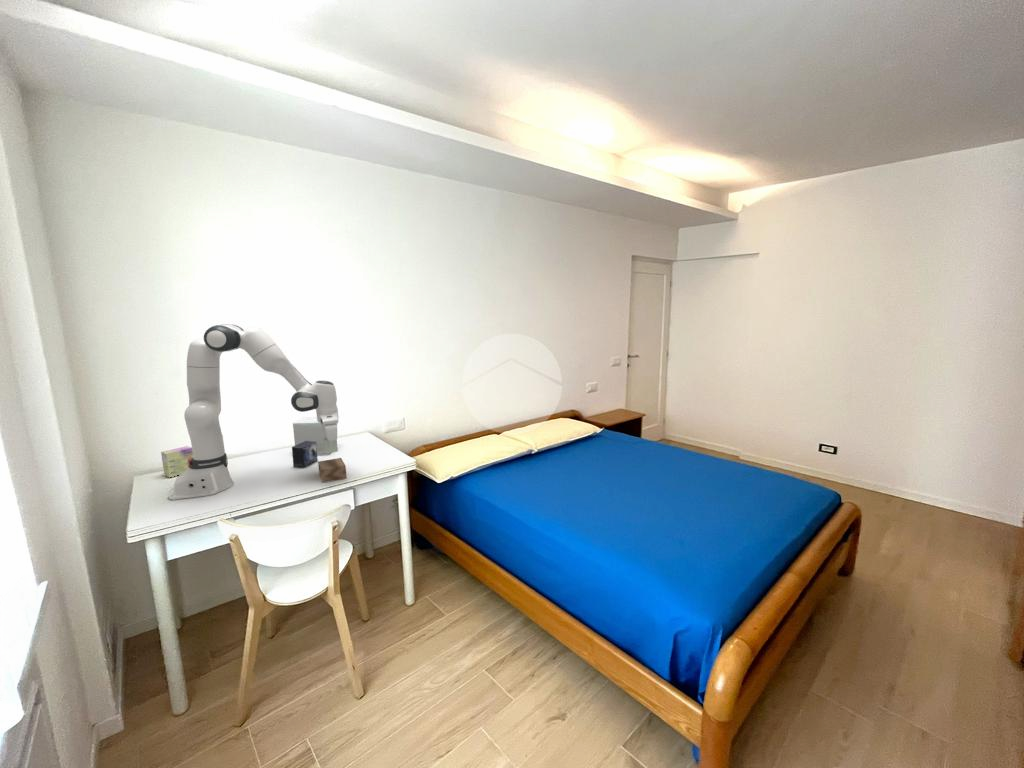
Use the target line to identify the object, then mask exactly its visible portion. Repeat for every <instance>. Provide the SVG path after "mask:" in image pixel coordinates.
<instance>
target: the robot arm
mask: <svg viewBox="0 0 1024 768" xmlns="http://www.w3.org/2000/svg"><path fill="white" fill-rule="evenodd" d="M239 349H240V350H241V349H242V350H243V351H245V352H246V353H247V355H249V357H250V358H251V359H252V360H253V361H254V362H255V364H256V365H257V366H258V367H259V368H261V369H262V370H264V371H265V372H270V373H274V374H278V375H280V376H281V377H283V379H285V380H286V381H287V382H288V383H289V384H290V386H291V387H292V388H293V389H294V390H295V391H296V392H295V393H294V394H292V397H291V399H290V402H291V403H290V404H291V406H292V407H293V409H294V410H296V411H298V412H300V413H302V412H308V411H314V410H316V411H315V412H316V413H315V414H316V417H317V421H318V422H320V423H321V425H322V431H323V433H324V435H325V437H326V438H327V440H328V442H329V448H330V449H331V448H334V441H337V442H338V424H339V419H340V418H339V409H338V405H337V401H338V399H337V398H338V397H337V396H338V395H337V390H336V387H335V384H334V383H333V382H331V381H329V380H316V381H315V382H313V383H311V382H310V381H308V380H307V379H306V378H305V376H304V375H302V373H301V371H299V370H298V369H297V368H296V366H294V364H292V363H291V361H290V360H289V358H287V356H286V355H285V354H284V352H283V350H282V349H281V348H280V347H279V346H278V345H277V343H276V342H275V341H274V340H273V338H272V337H270V336H269V334H268V333H266V332H265V331H264V330H263V329H262V328H260V327H257V326H253V327H248V328H246V329H243V327H240V326H238V325H237V324H228V323H223V324H217V325H212V326H210V327H209V328H208V329H206V330H205V332H204V335H203V338H198V339H195V340H192V341H191V342H190V343H189V346H188V350H187V356H186V386H187V392H188V394H187V395H188V402H189V403H188V406H187V407H186V409H185V410H184V414H183V415H184V421H185V425H186V429H187V433H188V436H189V439H190V444H191V447H192V452H193V457H190V458H189V459H188V467H189V468H188V469H187V470H186V471H184V472H183V473H182V474H181V475H179V476H176V477H177V478H176V479H175V481H174V484H173V488H172V489H170V491H168V494H167V498H168V500H171V501H176V500H184V499H193V498H200V497H207V496H213V495H216V494H217V493H219V492H222V491H224V490H226V489H229V488H231V487H232V486H233V485H234V481H233V480H232V478H231V475H230V471H229V467H228V465H229V463H228V456H227V453H226V451H225V443H224V436H223V434H222V433H223V432H222V429H221V425H220V420H219V418H220V417H219V416H220V414H221V413H222V400H221V399H222V398H221V397H222V396H221V384H220V382H221V381H220V377H221V376H220V372H221V371H220V370H221V369H220V368H221V367H220V366H221V364H220V361H221V360H220V359H221V355H222V353H224V352H225V353H226V352H233V351H235V350H239Z"/></svg>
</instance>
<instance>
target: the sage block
mask: <svg viewBox="0 0 1024 768" xmlns="http://www.w3.org/2000/svg"><path fill="white" fill-rule="evenodd" d="M323 441H324V451H325V453H330V454H332V453H336V452H339V449H338V440H337V441H334V448H331V449H330V448H329V442H328V440H327V438H326V437H324V438H323Z"/></svg>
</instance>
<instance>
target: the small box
mask: <svg viewBox="0 0 1024 768" xmlns="http://www.w3.org/2000/svg"><path fill="white" fill-rule="evenodd" d="M291 452H292V453H291V454H292V455H291V456H292V466H293V468H296V469H297V468H298V469H299V468H300V469H305V468H307V467H310V466H311V465H312V464H315V463H318V462H319V461H318V460H319V459H318V455H317V446H316V442H312V441H304V442H302V443H300V444H298V445H295V444H294V445H293V446H292V447H291Z"/></svg>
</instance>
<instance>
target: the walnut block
mask: <svg viewBox="0 0 1024 768" xmlns="http://www.w3.org/2000/svg"><path fill="white" fill-rule="evenodd" d="M317 464H318V465H317V466H318V473H319V477H320V480H321V482H322V483H323V482H324V483H327V482H328V481H329V482H333V481H338V480H339V481H340V480H344V479H347V467H346V464H345V462H344V460H343V459H342V458H341V457H338V458H333V459H327V460H320V461H317ZM329 482H328V483H329Z"/></svg>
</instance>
